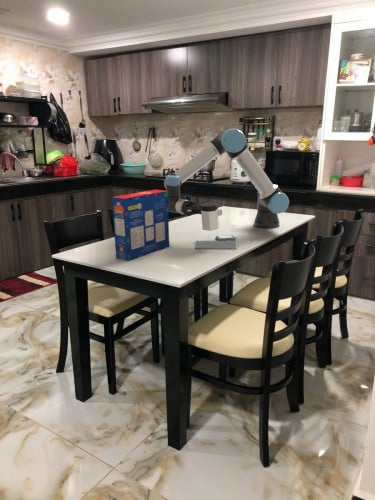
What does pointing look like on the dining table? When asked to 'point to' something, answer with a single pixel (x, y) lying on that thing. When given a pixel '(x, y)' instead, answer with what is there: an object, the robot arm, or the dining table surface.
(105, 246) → the dining table surface
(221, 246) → the mat
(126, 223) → the blue cardboard box
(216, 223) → the jar
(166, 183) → the robot arm
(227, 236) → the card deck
